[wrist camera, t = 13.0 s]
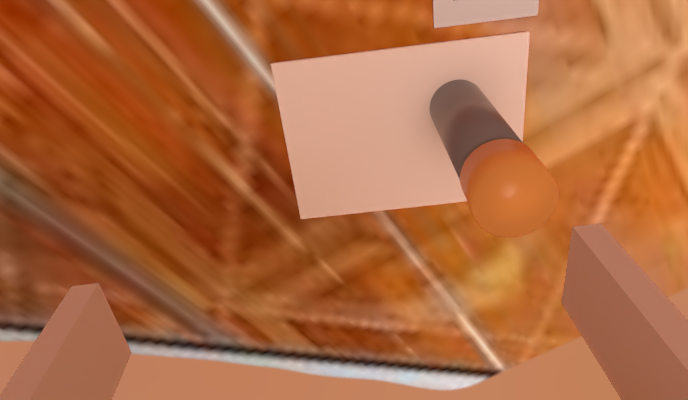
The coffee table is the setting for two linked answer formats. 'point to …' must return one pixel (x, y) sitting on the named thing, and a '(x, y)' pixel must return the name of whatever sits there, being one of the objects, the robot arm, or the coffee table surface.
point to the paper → (387, 120)
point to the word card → (480, 11)
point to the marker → (492, 162)
